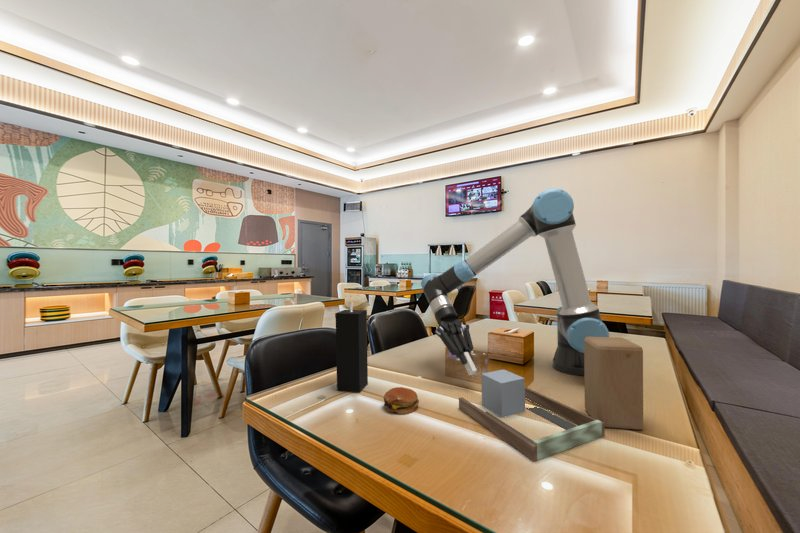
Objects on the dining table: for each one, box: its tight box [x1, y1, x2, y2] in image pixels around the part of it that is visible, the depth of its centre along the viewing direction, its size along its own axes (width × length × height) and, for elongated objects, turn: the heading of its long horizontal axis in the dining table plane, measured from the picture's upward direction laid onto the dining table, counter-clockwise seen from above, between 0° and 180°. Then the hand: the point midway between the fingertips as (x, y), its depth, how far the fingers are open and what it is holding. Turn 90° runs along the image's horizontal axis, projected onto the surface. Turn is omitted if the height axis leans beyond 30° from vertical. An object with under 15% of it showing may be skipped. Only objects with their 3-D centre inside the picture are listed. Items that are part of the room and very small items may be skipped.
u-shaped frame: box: [458, 386, 606, 462], centre depth 81 cm, size 22×26×4 cm
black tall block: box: [334, 301, 369, 393], centre depth 105 cm, size 8×8×28 cm
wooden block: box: [583, 336, 644, 431], centre depth 81 cm, size 10×10×20 cm
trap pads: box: [485, 407, 578, 443], centre depth 81 cm, size 18×16×1 cm
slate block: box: [481, 369, 526, 418], centre depth 89 cm, size 8×8×9 cm
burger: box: [383, 386, 420, 416], centre depth 90 cm, size 10×9×5 cm
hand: (473, 372), depth 100 cm, fingers closed
